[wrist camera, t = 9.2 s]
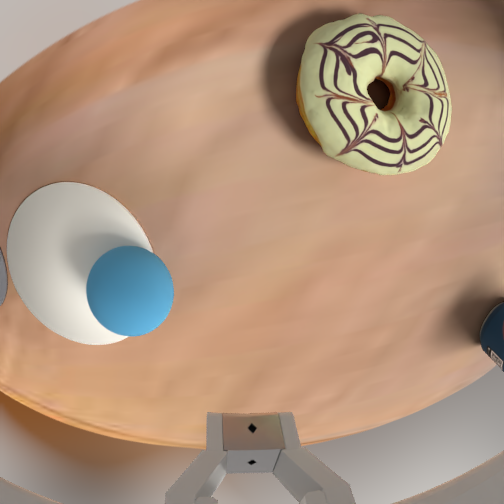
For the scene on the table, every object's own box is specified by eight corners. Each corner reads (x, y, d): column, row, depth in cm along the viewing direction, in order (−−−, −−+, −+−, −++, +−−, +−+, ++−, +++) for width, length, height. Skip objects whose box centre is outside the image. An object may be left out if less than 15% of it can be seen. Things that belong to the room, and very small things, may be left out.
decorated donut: (274, 29, 15) (287, 7, 12) (411, 30, 16) (441, 19, 12) (306, 181, 19) (325, 191, 16) (434, 160, 20) (466, 167, 16)
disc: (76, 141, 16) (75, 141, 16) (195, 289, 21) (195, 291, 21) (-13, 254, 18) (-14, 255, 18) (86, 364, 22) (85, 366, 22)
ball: (136, 237, 14) (117, 220, 19) (71, 320, 13) (67, 283, 17) (206, 297, 17) (172, 269, 22) (148, 368, 16) (126, 326, 21)
